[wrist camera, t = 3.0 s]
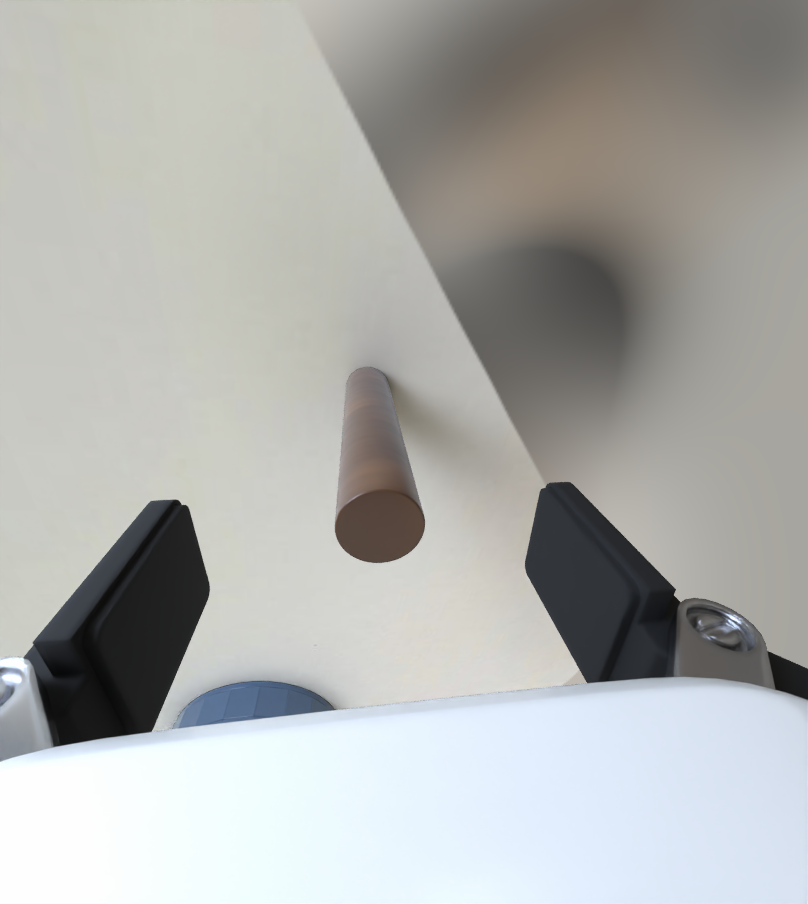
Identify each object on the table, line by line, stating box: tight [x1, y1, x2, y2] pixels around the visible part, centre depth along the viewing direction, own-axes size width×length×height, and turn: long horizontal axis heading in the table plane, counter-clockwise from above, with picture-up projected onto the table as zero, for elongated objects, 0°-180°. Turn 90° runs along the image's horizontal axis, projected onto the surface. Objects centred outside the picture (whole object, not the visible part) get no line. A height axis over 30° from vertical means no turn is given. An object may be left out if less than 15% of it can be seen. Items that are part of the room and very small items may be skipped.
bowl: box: [172, 681, 334, 729], centre depth 35 cm, size 15×15×6 cm
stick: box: [335, 367, 425, 563], centre depth 17 cm, size 3×3×14 cm
